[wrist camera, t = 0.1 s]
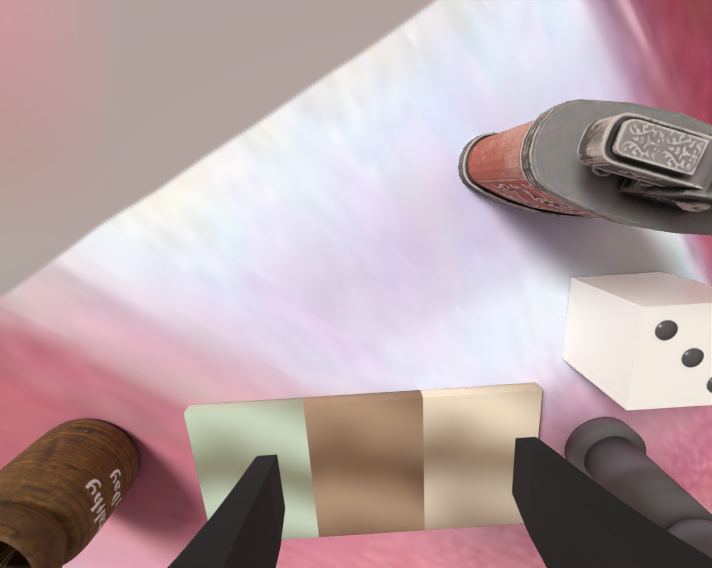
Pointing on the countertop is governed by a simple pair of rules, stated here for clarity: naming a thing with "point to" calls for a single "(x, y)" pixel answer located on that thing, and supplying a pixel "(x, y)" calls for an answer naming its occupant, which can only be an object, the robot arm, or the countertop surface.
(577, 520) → the robot arm
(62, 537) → the utensil holder
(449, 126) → the countertop surface
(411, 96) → the countertop surface
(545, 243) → the countertop surface
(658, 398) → the die
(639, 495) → the pawn
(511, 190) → the lighter
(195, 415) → the board
